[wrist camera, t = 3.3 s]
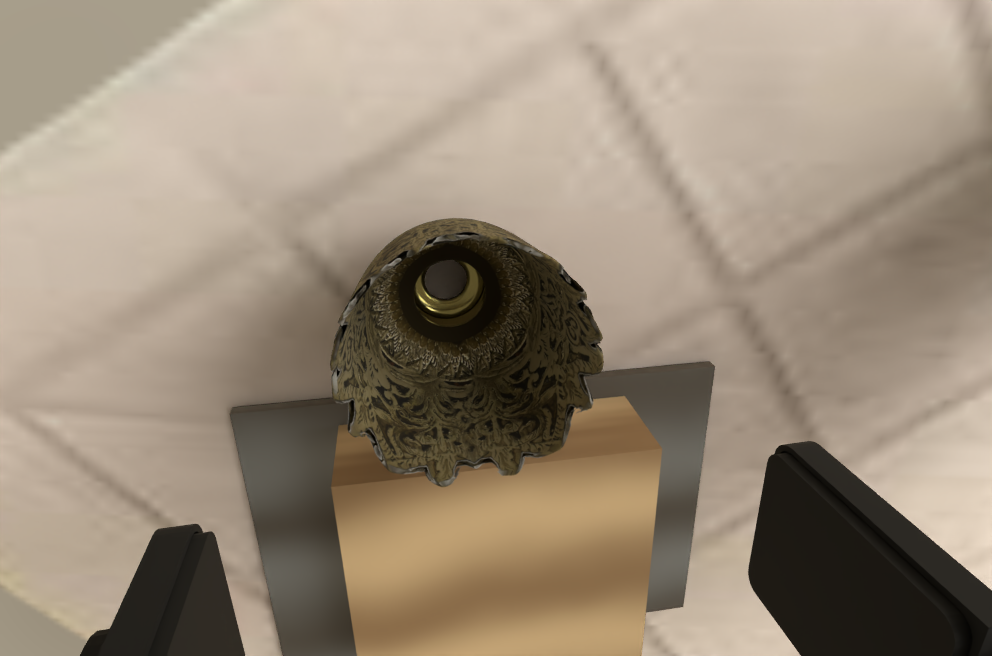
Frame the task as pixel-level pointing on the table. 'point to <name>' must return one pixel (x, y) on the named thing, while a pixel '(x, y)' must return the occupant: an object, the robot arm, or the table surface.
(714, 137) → the table surface
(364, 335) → the cup
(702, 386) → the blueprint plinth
